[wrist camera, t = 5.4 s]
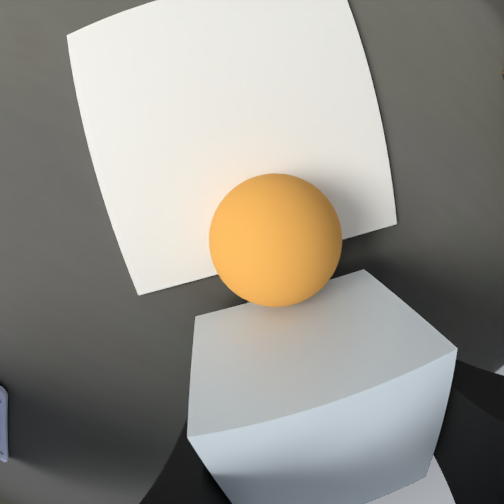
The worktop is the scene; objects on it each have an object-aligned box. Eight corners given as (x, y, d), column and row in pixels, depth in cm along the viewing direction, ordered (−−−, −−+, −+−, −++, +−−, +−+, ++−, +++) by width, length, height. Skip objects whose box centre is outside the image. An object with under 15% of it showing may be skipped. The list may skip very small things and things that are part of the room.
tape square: (394, 222, 12) (396, 224, 11) (139, 292, 11) (138, 295, 11) (335, -22, 8) (337, -24, 8) (69, 36, 8) (66, 35, 8)
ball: (315, 308, 6) (266, 137, 7) (200, 328, 9) (170, 200, 9) (376, 279, 9) (340, 162, 10) (280, 302, 12) (254, 204, 12)
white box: (371, 390, 12) (425, 476, 7) (240, 429, 12) (256, 533, 7) (364, 269, 11) (457, 348, 6) (195, 316, 10) (186, 437, 5)
